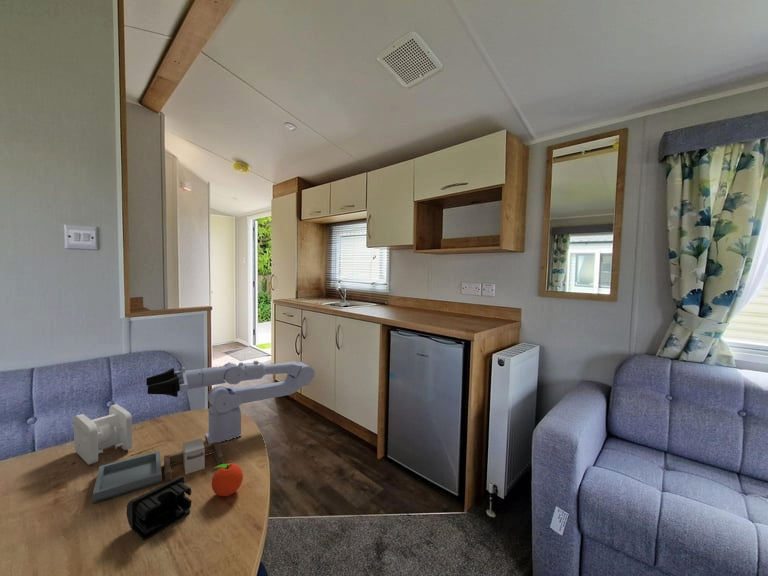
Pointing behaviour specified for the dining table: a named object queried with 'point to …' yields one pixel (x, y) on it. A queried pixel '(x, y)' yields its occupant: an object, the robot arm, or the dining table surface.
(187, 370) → the robot arm
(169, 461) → the walnut bay
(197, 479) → the dining table surface
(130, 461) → the slate tray
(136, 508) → the end cap
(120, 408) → the cable organizer
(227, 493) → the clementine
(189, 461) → the box
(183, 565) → the dining table surface
